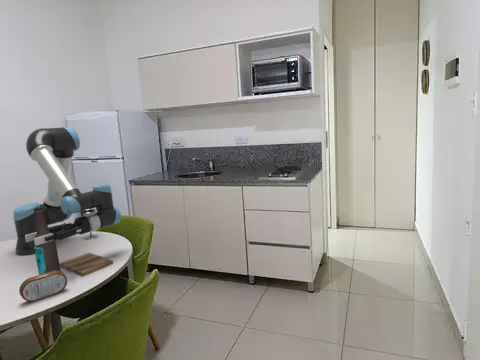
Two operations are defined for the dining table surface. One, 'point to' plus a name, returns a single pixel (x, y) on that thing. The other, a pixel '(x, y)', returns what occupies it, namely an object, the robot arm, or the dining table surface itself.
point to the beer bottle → (45, 245)
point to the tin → (43, 286)
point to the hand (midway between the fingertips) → (30, 240)
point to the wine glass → (87, 212)
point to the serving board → (86, 264)
